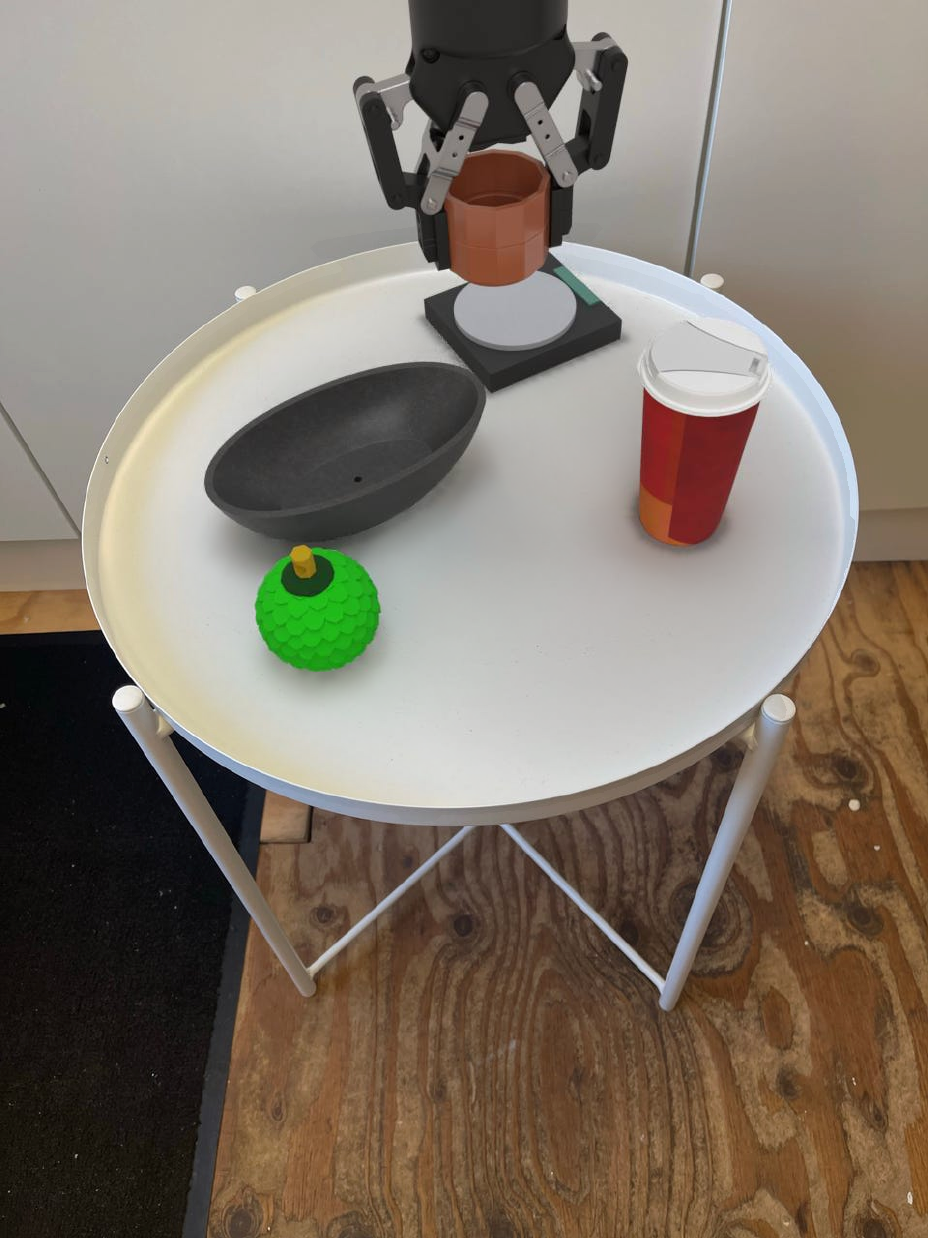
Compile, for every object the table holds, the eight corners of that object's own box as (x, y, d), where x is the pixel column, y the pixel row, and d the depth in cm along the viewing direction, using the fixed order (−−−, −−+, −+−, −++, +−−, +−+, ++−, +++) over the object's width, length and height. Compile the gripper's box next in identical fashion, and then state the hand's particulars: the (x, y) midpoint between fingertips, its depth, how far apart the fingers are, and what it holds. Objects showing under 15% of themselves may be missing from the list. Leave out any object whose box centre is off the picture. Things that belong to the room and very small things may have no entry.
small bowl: (530, 221, 59) (530, 141, 55) (561, 278, 55) (563, 196, 51) (434, 241, 58) (427, 161, 54) (459, 300, 55) (454, 219, 50)
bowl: (522, 484, 75) (521, 424, 70) (261, 607, 69) (239, 552, 64) (445, 395, 81) (439, 335, 76) (201, 502, 76) (177, 444, 71)
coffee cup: (748, 492, 73) (791, 328, 61) (717, 571, 69) (756, 412, 57) (642, 463, 75) (662, 299, 63) (605, 538, 71) (620, 378, 59)
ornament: (247, 664, 66) (207, 574, 58) (316, 582, 70) (288, 487, 62) (343, 714, 64) (315, 627, 56) (409, 626, 68) (392, 532, 59)
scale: (548, 269, 91) (548, 244, 88) (620, 338, 84) (622, 313, 82) (425, 317, 87) (422, 293, 85) (491, 393, 81) (489, 368, 79)
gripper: (340, -28, 40) (389, 315, 53) (671, -86, 41) (636, 262, 55) (310, -93, 44) (362, 240, 58) (610, -143, 45) (592, 193, 59)
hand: (496, 249), depth 56 cm, fingers closed on small bowl, 6 cm apart
